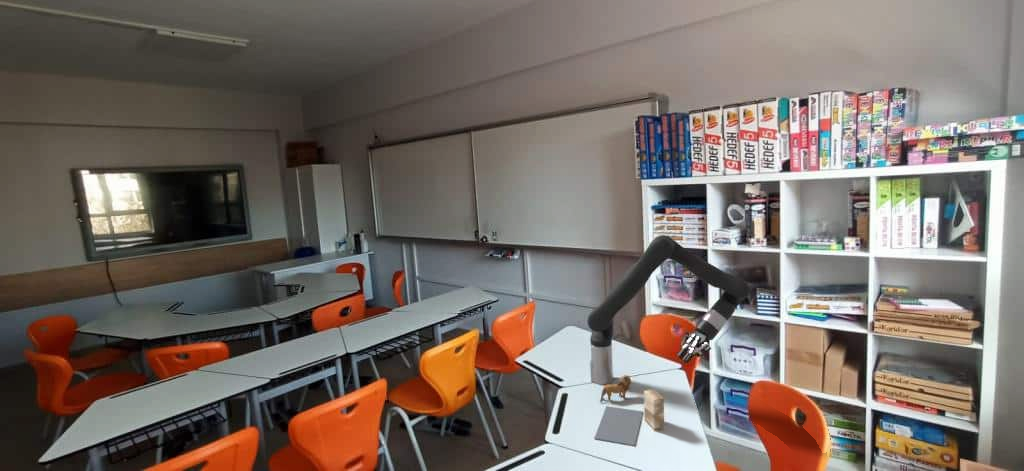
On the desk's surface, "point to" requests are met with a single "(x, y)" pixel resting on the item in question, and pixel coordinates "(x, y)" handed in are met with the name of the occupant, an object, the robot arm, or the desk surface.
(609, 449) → the desk surface
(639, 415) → the slate mat
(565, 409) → the desk surface
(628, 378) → the lion figurine
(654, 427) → the birch block
